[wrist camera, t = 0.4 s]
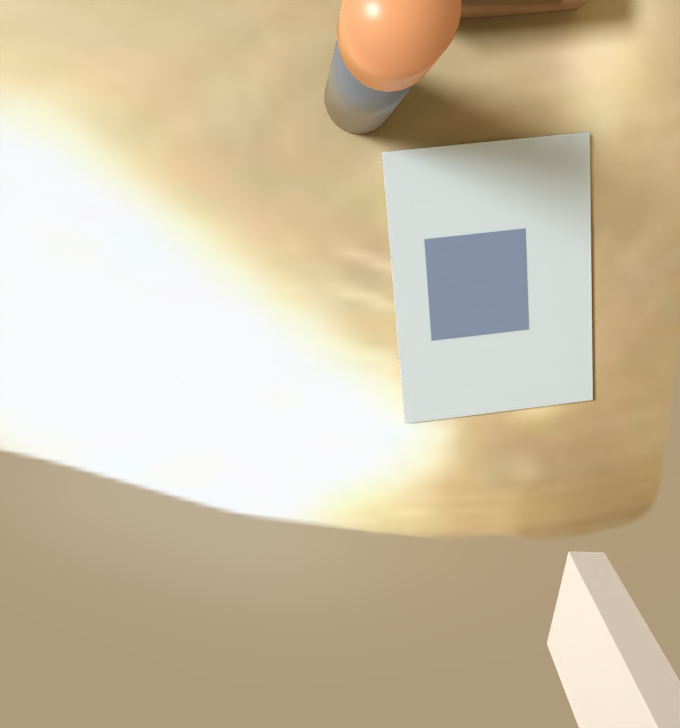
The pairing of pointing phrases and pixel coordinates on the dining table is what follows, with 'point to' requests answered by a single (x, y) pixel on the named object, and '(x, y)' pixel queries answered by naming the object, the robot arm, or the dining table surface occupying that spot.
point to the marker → (384, 56)
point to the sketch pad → (491, 274)
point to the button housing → (514, 7)
